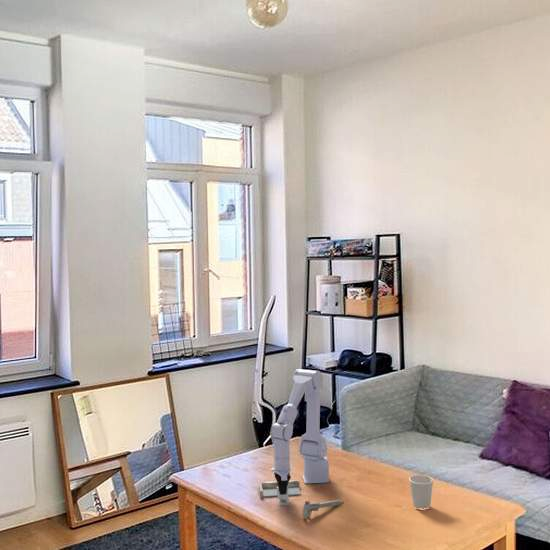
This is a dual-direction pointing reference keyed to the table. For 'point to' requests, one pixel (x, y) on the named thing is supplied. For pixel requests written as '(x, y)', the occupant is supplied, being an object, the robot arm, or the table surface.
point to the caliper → (317, 507)
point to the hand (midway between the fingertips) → (282, 493)
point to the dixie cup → (421, 490)
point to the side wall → (260, 490)
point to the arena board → (273, 491)
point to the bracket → (283, 498)
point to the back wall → (275, 484)
